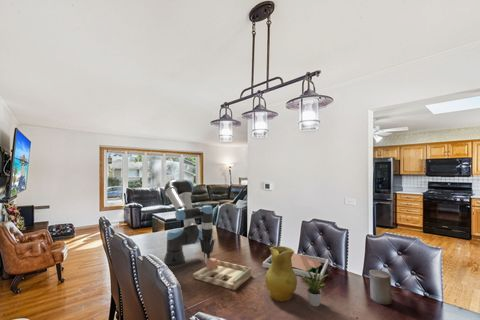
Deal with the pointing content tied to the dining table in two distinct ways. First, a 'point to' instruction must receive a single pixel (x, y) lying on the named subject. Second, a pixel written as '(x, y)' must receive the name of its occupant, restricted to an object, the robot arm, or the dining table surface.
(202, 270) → the cube sorting tray
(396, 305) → the dining table surface
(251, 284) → the dining table surface
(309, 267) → the house
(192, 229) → the robot arm
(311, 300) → the house plant
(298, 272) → the serving tray rim
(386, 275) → the pillar candle
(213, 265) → the salmon block
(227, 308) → the dining table surface
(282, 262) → the pitcher
